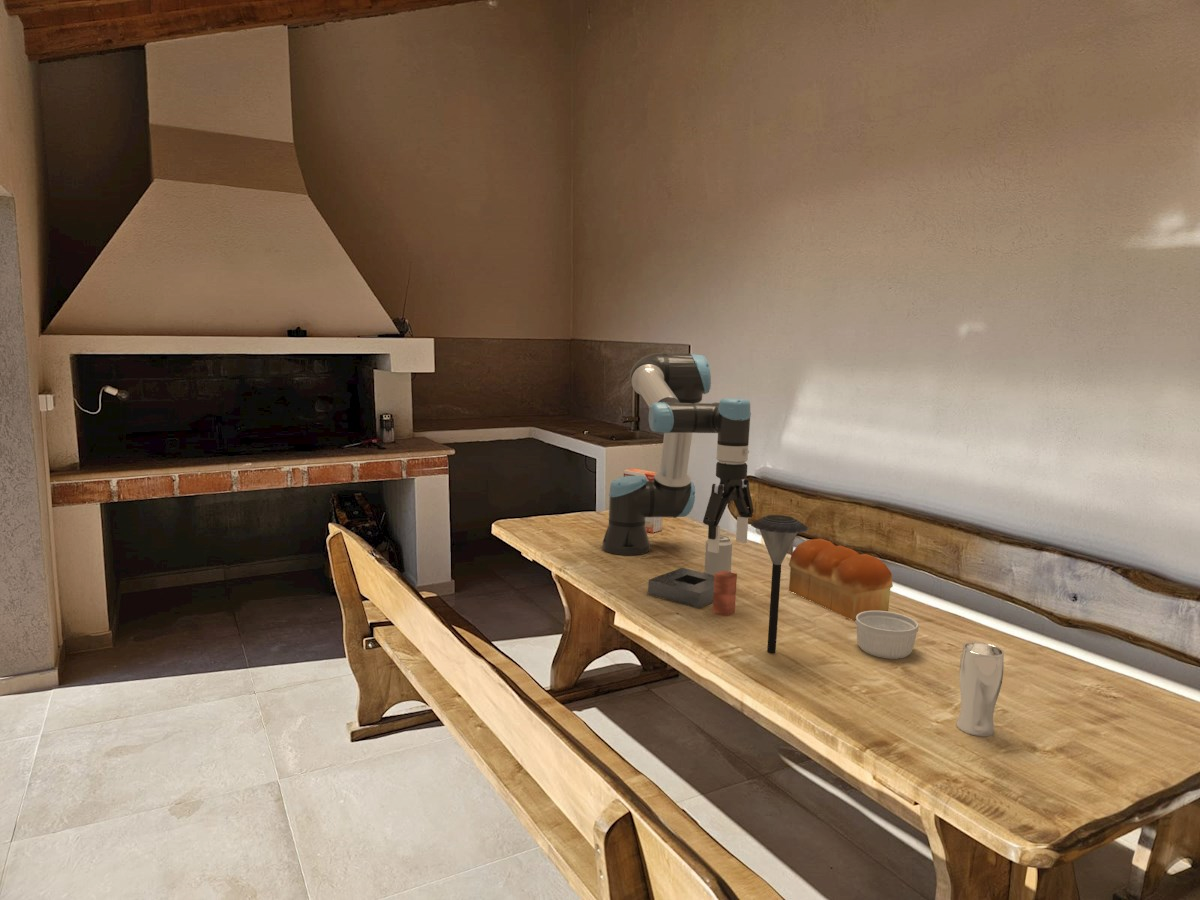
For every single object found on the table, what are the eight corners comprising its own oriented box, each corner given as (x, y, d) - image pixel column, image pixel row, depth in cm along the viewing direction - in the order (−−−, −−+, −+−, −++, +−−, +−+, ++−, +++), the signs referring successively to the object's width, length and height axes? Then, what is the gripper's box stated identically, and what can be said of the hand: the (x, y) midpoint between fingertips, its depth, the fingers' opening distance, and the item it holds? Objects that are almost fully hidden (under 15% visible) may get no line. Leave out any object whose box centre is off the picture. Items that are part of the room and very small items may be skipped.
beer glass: (946, 719, 148) (954, 641, 146) (983, 719, 149) (991, 641, 146) (966, 738, 141) (975, 656, 139) (1004, 738, 142) (1013, 656, 140)
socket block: (647, 594, 215) (648, 579, 214) (681, 581, 227) (682, 567, 226) (699, 608, 205) (699, 593, 204) (731, 594, 217) (732, 579, 216)
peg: (712, 612, 202) (714, 573, 201) (720, 608, 205) (723, 570, 204) (726, 616, 200) (728, 577, 198) (734, 612, 203) (736, 573, 201)
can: (729, 574, 236) (731, 533, 234) (731, 581, 228) (733, 540, 226) (703, 572, 236) (705, 532, 235) (704, 580, 229) (706, 538, 227)
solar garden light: (806, 663, 172) (816, 525, 167) (748, 662, 172) (757, 524, 167) (792, 641, 184) (801, 512, 180) (738, 640, 184) (746, 511, 179)
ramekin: (875, 663, 173) (878, 632, 172) (841, 641, 186) (844, 612, 185) (928, 659, 177) (931, 628, 176) (891, 637, 189) (894, 608, 188)
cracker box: (620, 526, 289) (622, 469, 286) (631, 524, 294) (633, 467, 291) (652, 534, 280) (654, 474, 278) (662, 531, 285) (665, 472, 282)
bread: (786, 591, 221) (790, 539, 219) (822, 586, 227) (825, 535, 225) (853, 621, 199) (857, 563, 197) (890, 615, 205) (895, 558, 203)
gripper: (718, 468, 185) (714, 559, 188) (770, 459, 204) (765, 541, 207) (690, 465, 190) (687, 553, 192) (743, 455, 209) (739, 536, 212)
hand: (727, 547), depth 200 cm, fingers open, 13 cm apart
